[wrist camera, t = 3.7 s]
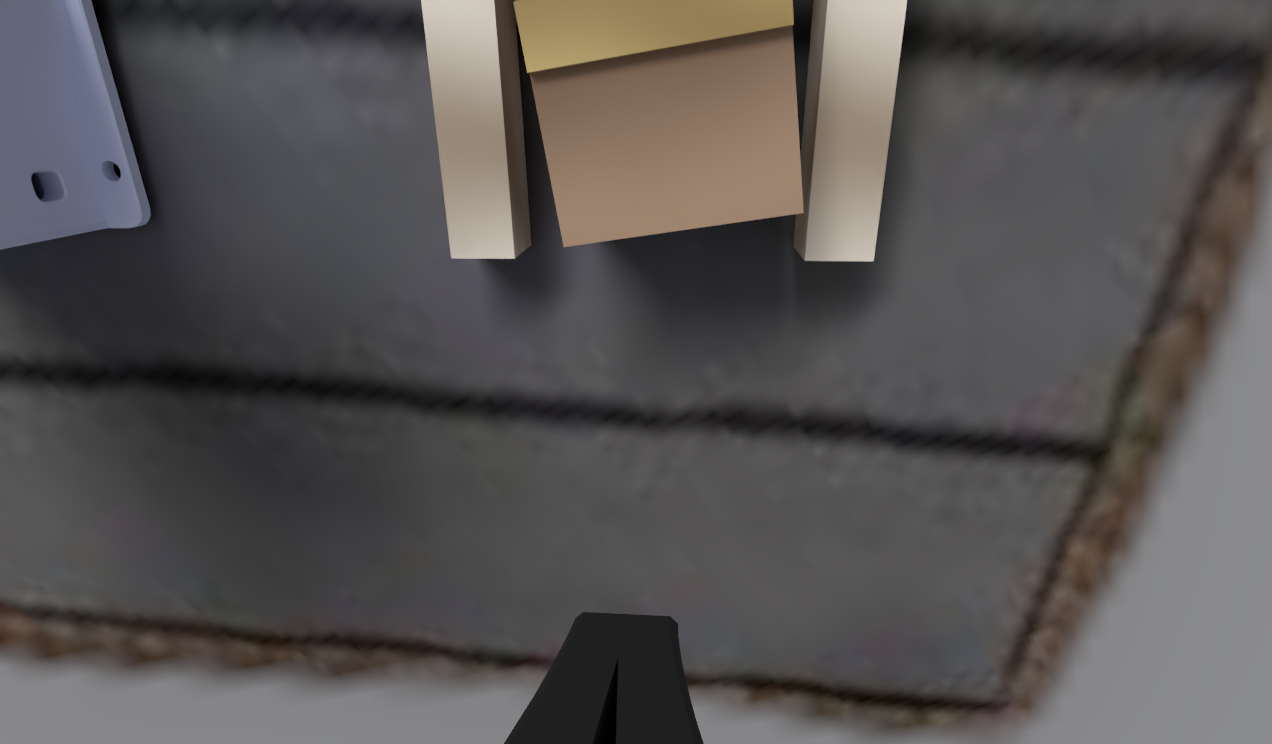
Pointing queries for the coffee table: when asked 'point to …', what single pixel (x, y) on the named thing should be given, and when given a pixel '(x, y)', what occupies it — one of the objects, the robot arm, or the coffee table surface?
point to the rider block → (664, 112)
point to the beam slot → (831, 142)
